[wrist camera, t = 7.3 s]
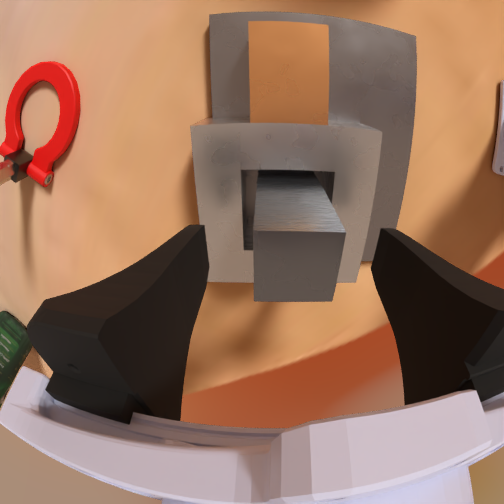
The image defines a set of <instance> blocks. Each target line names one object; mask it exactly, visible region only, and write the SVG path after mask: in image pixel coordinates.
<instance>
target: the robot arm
mask: <svg viewBox="0 0 504 504" xmlns="http://www.w3.org/2000/svg"><path fill="white" fill-rule="evenodd" d="M492 170H493V172H495V173H497V174H500V175H503V176H504V80H502V81H501V84H500V109H499V122H498V131H497V139H496V146H495V152H494V158H493V164H492ZM209 268H210V266H209V258H208V250H207V242H206V233H205V225H189V226H187V227H186V228H184V229H183V230H181V231H180V232H179V233H177V234H176V235H175V236H173V237H172V238H171V239H169V240H168V241H167V242H165V243H164V244H163V245H161V246H160V247H158V248H157V249H156V250H154V251H153V252H151V253H150V254H148V255H147V256H145V257H144V258H143V259H141V260H139V261H138V262H136V263H135V264H133V265H131V266H129V267H128V268H126V269H124V270H122V271H120V272H118V273H116V274H114V275H112V276H110V277H108V278H106V279H104V280H102V281H100V282H97V283H95V284H92V285H90V286H88V287H85V288H82V289H79V290H77V291H74V292H71V293H67V294H64V295H60V296H57V297H53V298H50V299H46V300H44V302H43V303H42V305H41V306H40V307H39V309H38V310H37V312H36V313H35V314H34V316H33V317H32V319H31V320H30V322H29V323H28V325H27V334H28V337H29V339H30V342H31V343H32V345H33V346H34V348H35V349H36V351H37V352H38V353H39V355H40V356H41V357H42V358H43V360H44V361H45V362H46V363H47V365H48V366H49V367H50V368H51V369H52V371H53V374H52V376H51V378H48V377H47V376H46V375H44V374H42V373H40V372H38V371H35V370H33V369H31V368H28V367H26V366H22V368H21V370H20V372H19V374H18V376H17V377H16V379H15V381H14V383H13V385H12V387H11V390H10V392H9V394H8V396H7V398H6V400H5V402H4V404H3V407H2V409H1V411H0V423H1V424H2V425H3V426H4V427H6V428H7V429H8V430H10V431H11V432H13V433H14V434H15V435H17V436H18V437H19V438H21V439H22V440H24V441H25V442H27V443H28V444H30V445H32V446H33V447H35V448H36V449H38V450H39V451H41V452H43V453H44V454H46V455H48V456H50V457H52V458H54V459H55V460H57V461H59V462H61V463H63V464H65V465H67V466H69V467H71V468H73V469H75V470H77V471H79V472H82V473H84V474H86V475H88V476H91V477H93V478H95V479H98V480H100V481H103V482H105V483H108V484H110V485H113V486H116V487H119V488H122V489H125V490H128V491H131V492H134V493H137V494H140V495H144V496H147V497H151V498H155V499H159V500H162V504H474V500H473V493H472V486H471V480H470V475H469V469H468V466H470V465H472V464H474V463H476V462H477V461H479V460H481V459H483V458H485V457H486V456H488V455H490V454H492V453H493V452H495V451H497V450H498V449H500V448H501V447H503V446H504V289H502V288H499V287H496V286H494V285H492V284H489V283H487V282H485V281H483V280H480V279H478V278H476V277H474V276H472V275H470V274H468V273H466V272H464V271H463V270H461V269H459V268H457V267H455V266H454V265H452V264H450V263H449V262H447V261H445V260H444V259H442V258H441V257H439V256H437V255H436V254H434V253H433V252H431V251H430V250H428V249H427V248H425V247H424V246H422V245H421V244H419V243H418V242H416V241H415V240H413V239H412V238H410V237H409V236H407V235H405V234H404V233H402V232H400V231H398V230H396V229H394V228H381V229H380V233H379V238H378V242H377V246H376V250H375V254H374V258H373V262H372V266H371V271H372V275H373V279H374V282H375V286H376V289H377V291H378V294H379V296H380V299H381V301H382V304H383V306H384V309H385V311H386V314H387V316H388V319H389V321H390V324H391V326H392V329H393V332H394V336H395V339H396V344H397V348H398V353H399V358H400V364H401V370H402V377H403V387H404V401H405V406H400V407H395V408H390V409H385V410H379V411H372V412H366V413H358V414H351V415H342V416H337V417H332V418H326V419H320V420H313V421H309V422H306V423H303V424H300V425H297V426H294V427H291V428H242V427H225V426H213V425H205V424H195V423H188V422H182V421H180V418H181V403H182V393H183V384H184V376H185V369H186V362H187V356H188V350H189V344H190V339H191V335H192V331H193V327H194V324H195V321H196V318H197V315H198V311H199V308H200V305H201V302H202V299H203V296H204V292H205V289H206V285H207V280H208V274H209Z"/></svg>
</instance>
